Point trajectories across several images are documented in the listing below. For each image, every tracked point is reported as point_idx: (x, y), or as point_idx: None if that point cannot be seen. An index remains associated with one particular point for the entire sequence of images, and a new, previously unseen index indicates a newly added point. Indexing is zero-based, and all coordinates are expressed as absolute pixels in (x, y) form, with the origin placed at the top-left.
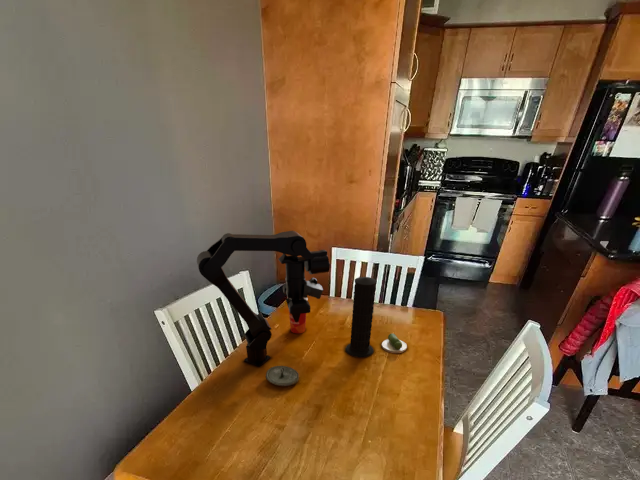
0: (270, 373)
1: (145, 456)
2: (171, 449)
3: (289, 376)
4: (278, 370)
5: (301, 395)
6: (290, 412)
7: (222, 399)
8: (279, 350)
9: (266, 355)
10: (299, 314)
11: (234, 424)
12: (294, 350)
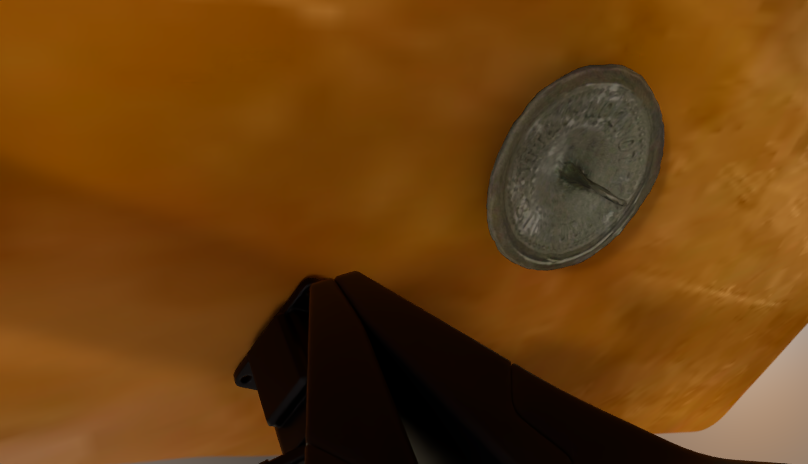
0: (555, 246)
1: (701, 415)
2: (711, 383)
3: (580, 128)
4: (526, 206)
5: (714, 43)
6: (776, 98)
7: (590, 361)
8: (180, 236)
9: (297, 311)
10: (503, 374)
11: (716, 283)
12: (171, 104)
